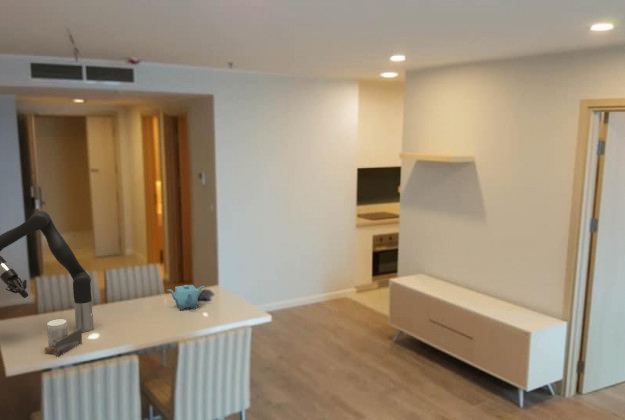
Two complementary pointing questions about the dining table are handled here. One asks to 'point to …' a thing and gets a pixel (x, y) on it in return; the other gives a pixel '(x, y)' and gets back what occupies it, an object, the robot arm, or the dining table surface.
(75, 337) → the walnut dock
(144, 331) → the dining table surface
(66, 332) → the supplement tub
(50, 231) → the robot arm
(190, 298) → the teakettle
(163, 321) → the dining table surface
